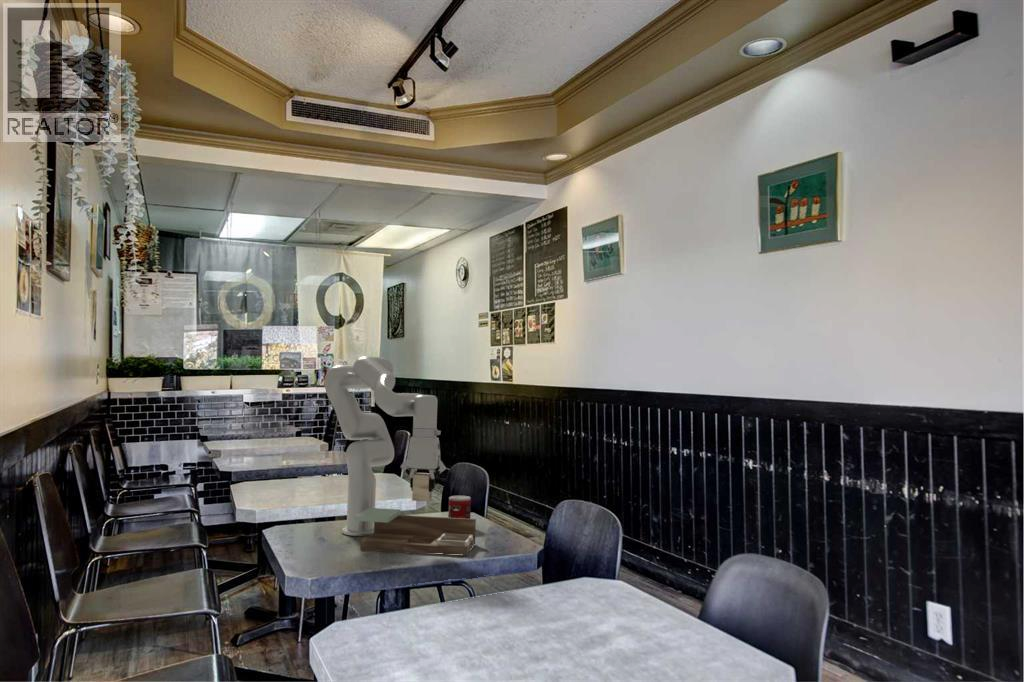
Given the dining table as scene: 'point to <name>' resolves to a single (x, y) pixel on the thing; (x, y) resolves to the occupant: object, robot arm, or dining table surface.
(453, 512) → the canned food
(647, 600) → the dining table surface
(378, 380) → the robot arm
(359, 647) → the dining table surface
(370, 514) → the sliding cover
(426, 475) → the beech block
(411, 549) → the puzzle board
